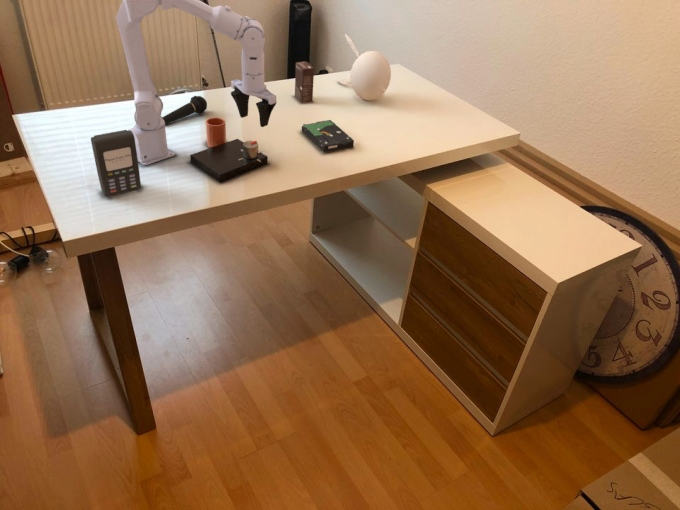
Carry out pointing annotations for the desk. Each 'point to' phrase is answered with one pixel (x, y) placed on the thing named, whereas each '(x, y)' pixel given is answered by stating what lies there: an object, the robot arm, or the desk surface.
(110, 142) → the card reader
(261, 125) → the robot arm
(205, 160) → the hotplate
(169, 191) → the desk surface
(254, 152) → the dial
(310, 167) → the desk surface
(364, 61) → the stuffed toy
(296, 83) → the box
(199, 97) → the microphone
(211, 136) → the cup
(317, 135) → the disk drive
